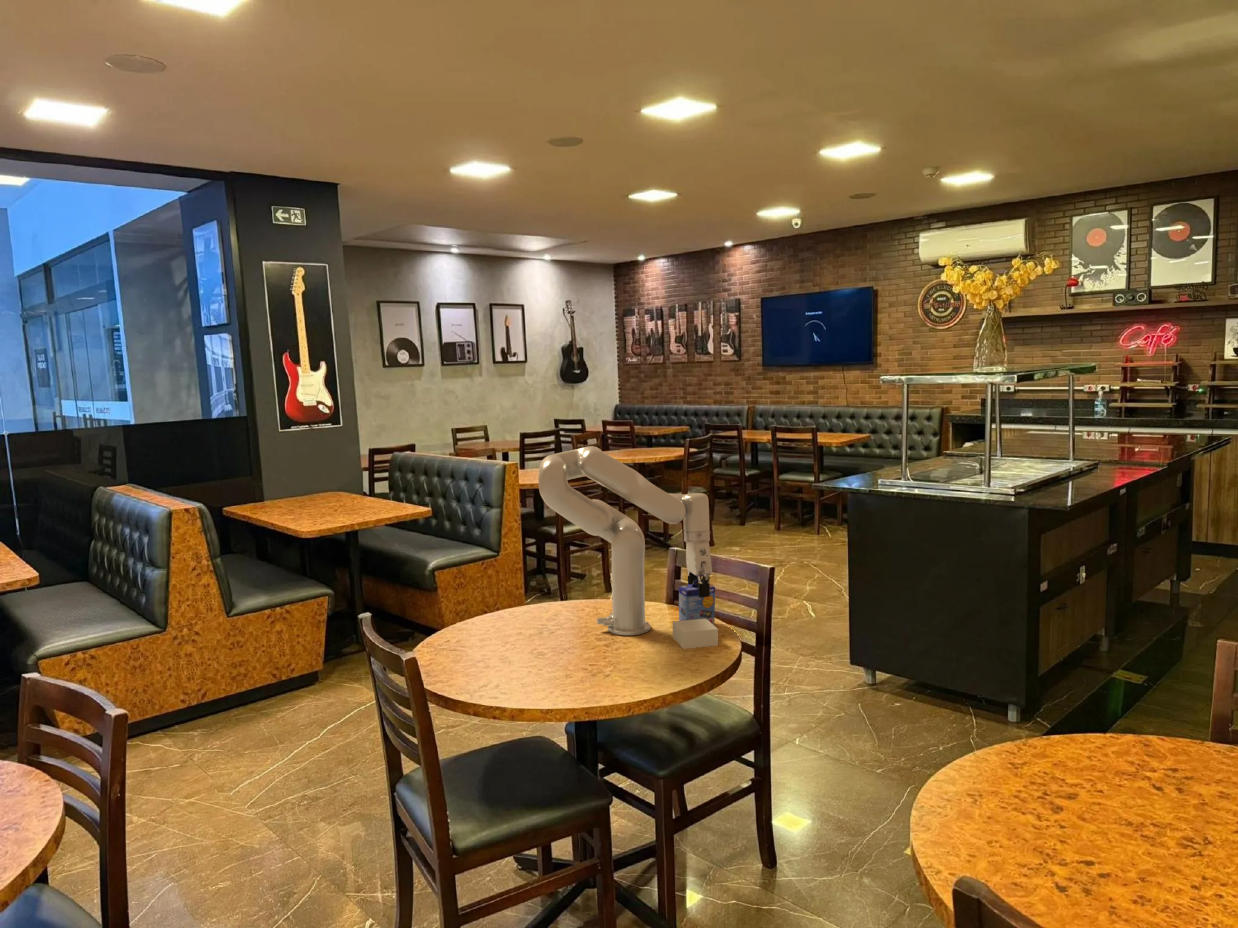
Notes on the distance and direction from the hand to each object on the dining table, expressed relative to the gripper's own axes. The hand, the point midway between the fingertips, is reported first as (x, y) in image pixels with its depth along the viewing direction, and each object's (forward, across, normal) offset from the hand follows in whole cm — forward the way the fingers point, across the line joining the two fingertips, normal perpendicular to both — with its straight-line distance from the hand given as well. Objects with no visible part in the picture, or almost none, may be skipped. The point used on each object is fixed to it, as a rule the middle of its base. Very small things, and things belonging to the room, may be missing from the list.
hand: (698, 592), depth 249 cm
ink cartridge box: (+10, 0, +1) cm, 10 cm away
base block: (+10, -13, +6) cm, 18 cm away
